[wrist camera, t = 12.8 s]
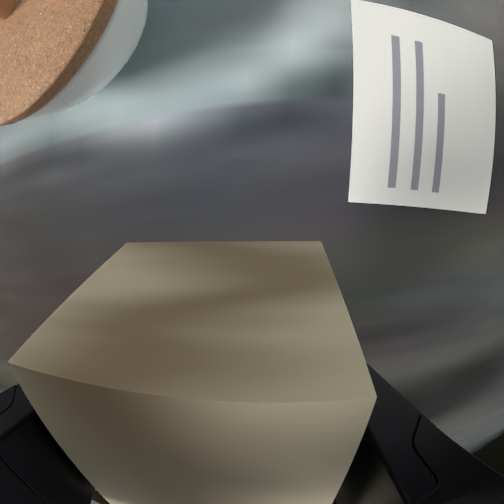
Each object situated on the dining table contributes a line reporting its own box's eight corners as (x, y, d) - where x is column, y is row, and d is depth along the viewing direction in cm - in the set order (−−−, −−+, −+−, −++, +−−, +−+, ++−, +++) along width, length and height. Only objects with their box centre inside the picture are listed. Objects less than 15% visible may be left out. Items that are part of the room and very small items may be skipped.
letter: (484, 213, 17) (485, 214, 16) (347, 201, 17) (348, 202, 17) (490, 40, 12) (492, 40, 12) (350, -1, 13) (351, -2, 12)
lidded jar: (138, 135, 16) (28, 154, 8) (15, 106, 15) (-89, 120, 7) (202, -28, 12) (150, -121, 4) (64, -30, 11) (-21, -70, 3)
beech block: (320, 240, 8) (377, 396, 3) (308, 387, 10) (319, 527, 5) (127, 242, 8) (7, 362, 3) (158, 380, 10) (111, 505, 5)
